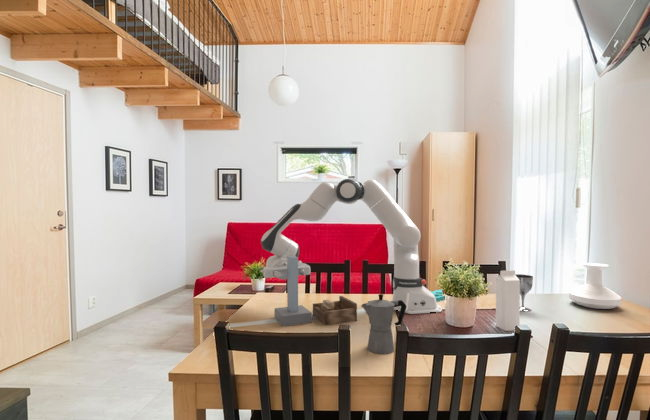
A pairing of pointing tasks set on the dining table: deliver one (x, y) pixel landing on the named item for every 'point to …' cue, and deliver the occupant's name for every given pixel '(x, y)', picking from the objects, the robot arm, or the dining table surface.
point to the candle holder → (595, 290)
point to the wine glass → (524, 288)
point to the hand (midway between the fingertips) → (292, 274)
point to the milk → (507, 300)
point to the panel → (292, 283)
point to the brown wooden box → (337, 312)
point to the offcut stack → (327, 305)
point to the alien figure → (438, 295)
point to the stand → (293, 316)
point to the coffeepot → (382, 324)
